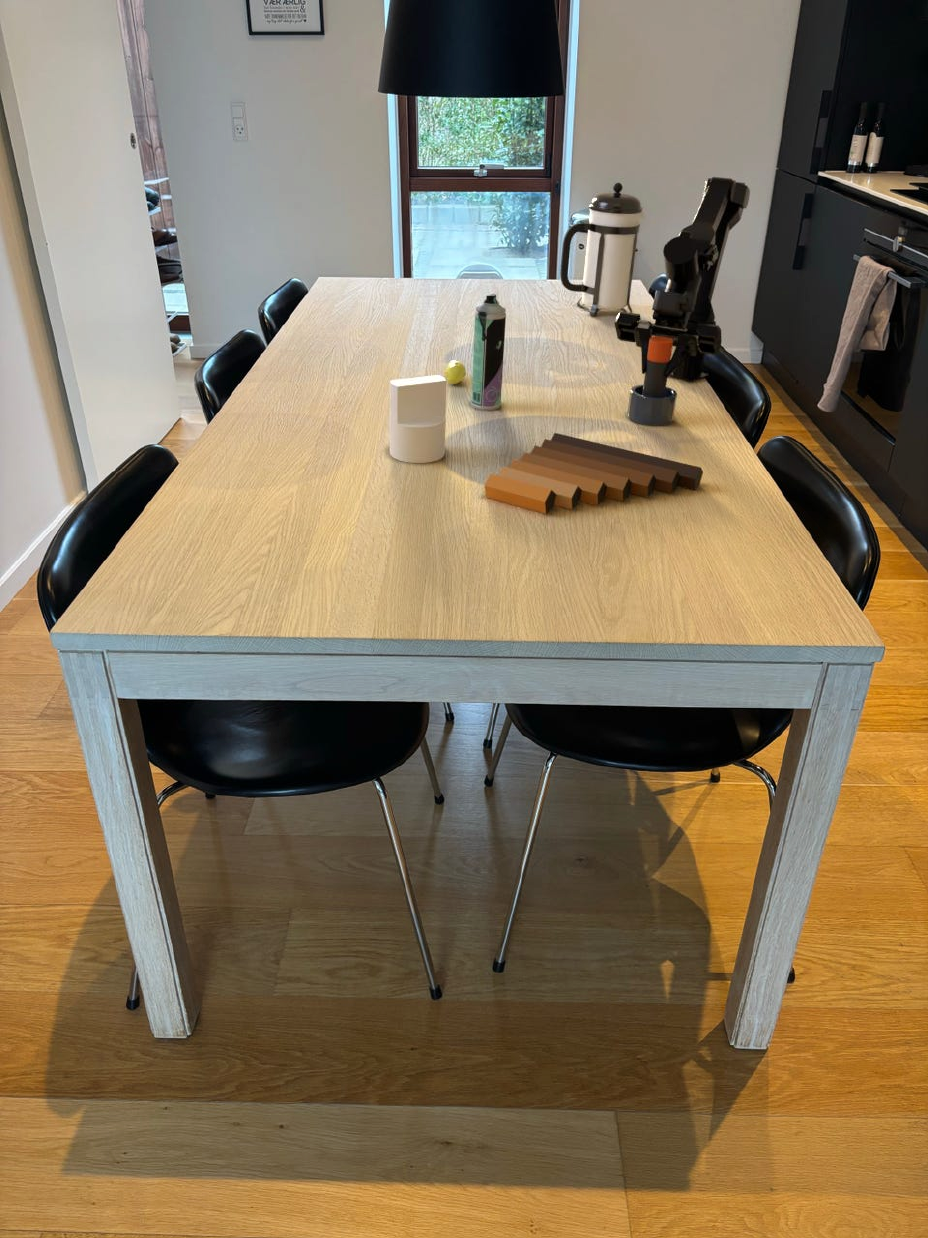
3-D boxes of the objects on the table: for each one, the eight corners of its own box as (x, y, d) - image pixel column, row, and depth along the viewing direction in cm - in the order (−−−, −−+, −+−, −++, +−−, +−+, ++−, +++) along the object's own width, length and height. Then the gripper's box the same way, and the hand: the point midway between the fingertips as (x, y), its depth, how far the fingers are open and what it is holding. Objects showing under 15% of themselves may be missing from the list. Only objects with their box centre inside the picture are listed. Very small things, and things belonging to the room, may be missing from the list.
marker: (639, 403, 178) (648, 335, 171) (661, 405, 177) (671, 336, 171) (641, 411, 174) (650, 341, 168) (663, 412, 174) (674, 343, 167)
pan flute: (700, 484, 151) (557, 448, 162) (704, 463, 149) (559, 429, 160) (641, 542, 132) (483, 498, 143) (644, 520, 131) (484, 477, 141)
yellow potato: (441, 386, 188) (442, 366, 186) (447, 374, 195) (448, 354, 193) (462, 387, 187) (463, 367, 185) (468, 375, 194) (469, 356, 192)
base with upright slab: (403, 466, 152) (403, 392, 146) (380, 446, 159) (380, 375, 153) (454, 458, 156) (456, 385, 150) (429, 439, 163) (431, 369, 157)
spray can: (497, 411, 176) (504, 299, 166) (468, 408, 177) (473, 296, 167) (502, 402, 181) (509, 292, 171) (474, 399, 182) (479, 289, 172)
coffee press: (589, 300, 255) (602, 176, 240) (643, 310, 247) (660, 183, 232) (555, 311, 243) (566, 181, 227) (611, 323, 235) (626, 189, 220)
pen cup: (644, 407, 182) (648, 381, 179) (681, 419, 177) (685, 392, 174) (618, 416, 177) (621, 390, 174) (655, 429, 172) (659, 401, 169)
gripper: (624, 264, 170) (598, 342, 167) (730, 278, 164) (705, 358, 161) (630, 301, 180) (606, 374, 177) (730, 315, 174) (707, 391, 171)
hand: (654, 374), depth 171 cm, fingers closed on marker, 4 cm apart
